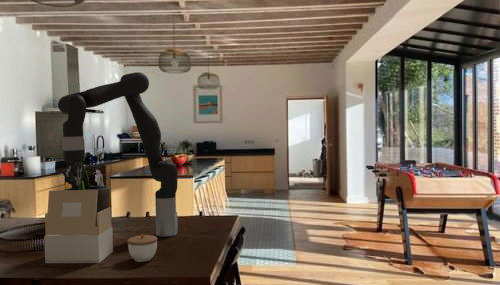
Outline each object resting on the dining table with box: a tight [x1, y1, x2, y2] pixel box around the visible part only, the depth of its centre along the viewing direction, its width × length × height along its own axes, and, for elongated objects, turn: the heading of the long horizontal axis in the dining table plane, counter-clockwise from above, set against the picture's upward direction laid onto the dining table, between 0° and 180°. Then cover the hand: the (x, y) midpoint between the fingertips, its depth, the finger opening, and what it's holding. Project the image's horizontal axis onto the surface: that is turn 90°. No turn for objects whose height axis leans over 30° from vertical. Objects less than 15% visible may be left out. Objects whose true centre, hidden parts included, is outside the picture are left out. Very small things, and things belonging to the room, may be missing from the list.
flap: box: [45, 189, 98, 235], centre depth 154 cm, size 18×16×1 cm
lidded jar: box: [127, 233, 158, 263], centre depth 157 cm, size 11×11×9 cm
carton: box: [43, 206, 114, 264], centre depth 161 cm, size 20×15×18 cm
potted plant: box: [64, 161, 111, 226], centre depth 215 cm, size 21×22×40 cm
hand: (75, 194), depth 158 cm, fingers closed
